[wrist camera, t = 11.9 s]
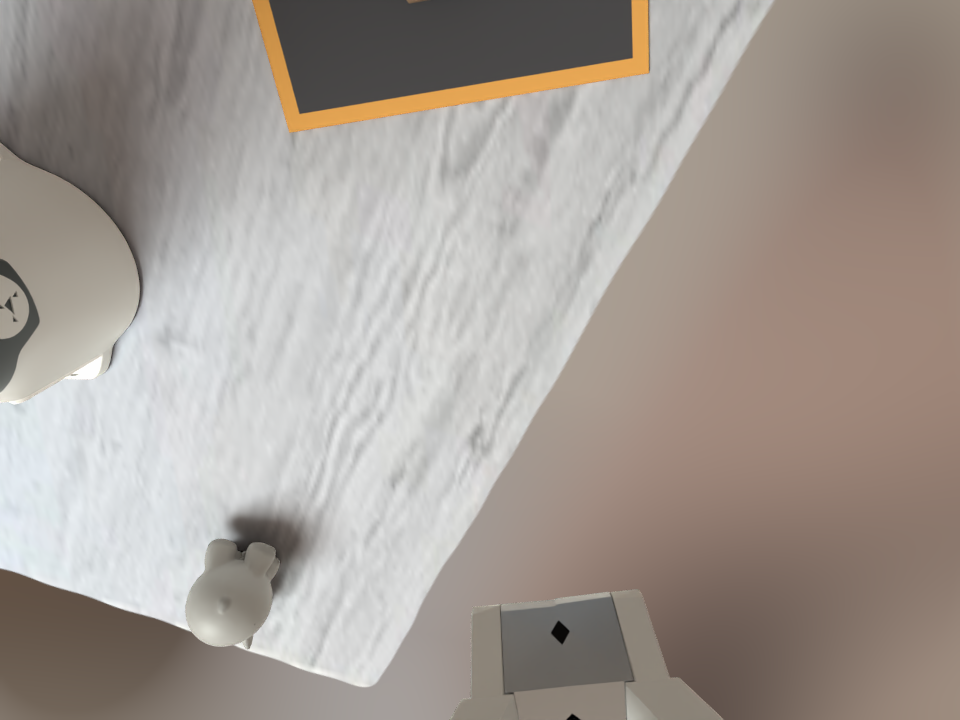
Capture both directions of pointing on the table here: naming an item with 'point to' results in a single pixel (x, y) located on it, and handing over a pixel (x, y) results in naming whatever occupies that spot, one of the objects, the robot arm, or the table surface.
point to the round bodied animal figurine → (232, 593)
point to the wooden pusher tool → (413, 0)
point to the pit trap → (440, 52)
